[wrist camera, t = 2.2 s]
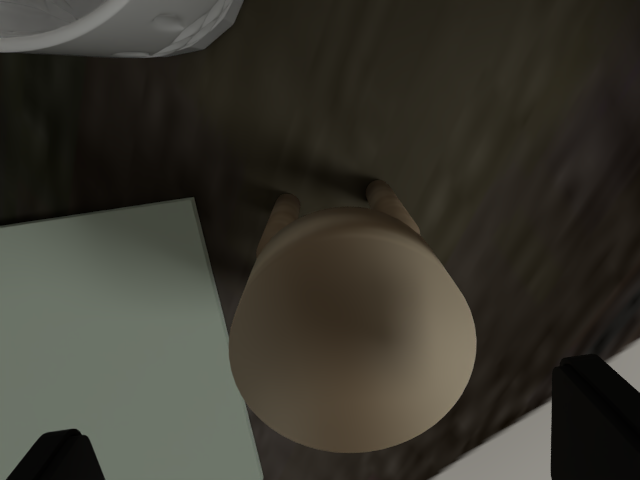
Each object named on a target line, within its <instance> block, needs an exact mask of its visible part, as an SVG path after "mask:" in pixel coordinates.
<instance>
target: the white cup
mask: <svg viewBox="0 0 640 480" xmlns="http://www.w3.org/2000/svg"><path fill="white" fill-rule="evenodd" d="M243 1H244V0H0V52H5V53H27V54H48V55H67V56H84V57H101V58H149V57H170V56H175V55H180V54H185V53H189V52H194V51H199V50H204V49H205V48H206V47H208V46H209V45H210V44H211V43H212V42H213V41H215V40H216V39H217V38H218V37H219V36H220V35H222V34H223V33H224V32H225V31H226V30H228V29H229V28H230V27H231V26H232V25H233V24H234V22H235V20H236V18H237V15H238V13H239V11H240V8H241V6H242V4H243Z"/></svg>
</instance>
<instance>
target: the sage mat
mask: <svg viewBox="0 0 640 480" xmlns="http://www.w3.org/2000/svg"><path fill="white" fill-rule="evenodd" d="M66 429H77V430H79V431H80V432H81V434H82V435H86V436H88V438H89V439H90V442H91V444H92V447H93V449H94V452H95V454H96V457H97V460H98V462H99V465H100V467H101V470H102V472H103V475H104V477H105V480H263V473H262V469H261V465H260V461H259V457H258V453H257V449H256V445H255V441H254V437H253V433H252V429H251V425H250V421H249V417H248V413H247V409H246V405H245V401H244V399H243V397H242V396H241V394H240V392H239V390H238V388H237V386H236V384H235V381H234V378H233V375H232V372H231V367H230V361H229V336H228V332H227V328H226V324H225V320H224V316H223V312H222V308H221V304H220V300H219V296H218V292H217V288H216V284H215V280H214V276H213V272H212V268H211V264H210V260H209V256H208V252H207V248H206V244H205V240H204V236H203V232H202V228H201V224H200V220H199V216H198V212H197V208H196V204H195V200H194V197H191V198H184V199H177V200H170V201H164V202H157V203H150V204H144V205H137V206H130V207H123V208H117V209H110V210H103V211H97V212H90V213H83V214H76V215H70V216H63V217H56V218H50V219H43V220H36V221H30V222H23V223H16V224H9V225H3V226H0V480H6V479H7V477H8V476H9V475H10V474H11V472H12V471H13V470H14V469H15V467H16V466H17V465H18V463H19V462H20V461H21V460H22V458H23V457H24V456H25V455H26V453H27V452H28V451H29V450H30V448H31V447H32V446H33V445H34V443H35V442H36V441H37V439H38V438H39V437H40V436H41V435H42V434H44V433H47V432H52V431H59V430H66Z"/></svg>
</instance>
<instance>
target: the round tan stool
mask: <svg viewBox="0 0 640 480" xmlns="http://www.w3.org/2000/svg"><path fill="white" fill-rule="evenodd" d="M365 194H366V198H367V200H368V203H369V205H370V207H371V209H367V208H361V207H335V208H328V209H324V210H319V211H316V212H313V213H310V214H307V215H305V216H303V217H301V218H299V219H298V216H299V211H300V202H299V200H298V198H297V197H296V196H294V195H292V194H283V195H281V196H279V197H278V198H277V200H276V202H275V205H274V207H273V210H272V212H271V215H270V217H269V220H268V222H267V225H266V227H265V230H264V232H263V235H262V237H261V240H260V242H259V245H258V247H257V250H256V256H257V259H256V262H255V264H254V266H253V268H252V271H251V273H250V276H249V279H248V281H247V284H246V286H245V289H244V292H243V294H242V297H241V299H240V302H239V305H238V307H237V310H236V312H235V315H234V318H233V322H232V325H231V329H230V336H229V361H230V367H231V372H232V375H233V378H234V381H235V384H236V386H237V388H238V390H239V392H240V394H241V396H242V397H243V399H244V400H245V402H246V403H247V405H248V406H249V407H250V409H251V410H252V411H253V412H254V413H255V414H256V415H257V416H258V417H259V418H260V419H261V420H262V421H263V422H264V423H265V424H267V425H268V426H269V427H270V428H272V429H273V430H275V431H276V432H278V433H279V434H281V435H282V436H284V437H286V438H288V439H290V440H292V441H294V442H297V443H299V444H302V445H305V446H307V447H311V448H315V449H319V450H324V451H331V452H339V453H359V452H369V451H375V450H381V449H385V448H388V447H392V446H395V445H398V444H400V443H403V442H405V441H408V440H410V439H412V438H414V437H416V436H418V435H420V434H421V433H423V432H424V431H426V430H427V429H429V428H430V427H432V426H433V425H434V424H436V423H437V422H438V421H439V420H440V419H441V418H443V417H444V416H445V415H446V414H447V413H448V411H449V410H450V409H451V408H452V407H453V406H454V405H455V403H456V402H457V400H458V399H459V397H460V396H461V395H462V393H463V391H464V389H465V387H466V385H467V383H468V381H469V379H470V376H471V373H472V370H473V366H474V361H475V356H476V332H475V325H474V321H473V318H472V314H471V311H470V309H469V307H468V304H467V302H466V300H465V298H464V296H463V295H462V293H461V292H460V290H459V289H458V287H457V286H456V284H455V283H454V281H453V280H452V278H451V277H450V275H449V274H448V273H447V271H446V270H445V268H444V267H443V265H442V264H441V262H440V261H439V260H438V258H437V257H436V255H435V254H434V252H433V251H432V249H431V248H430V246H429V245H428V244H427V243H426V242H425V240H424V239H423V238H422V237H421V236H420V231H419V228H418V226H417V225H416V223H415V222H414V220H413V219H412V218H411V216H410V215H409V213H408V212H407V210H406V209H405V208H404V206H403V205H402V203H401V202H400V201H399V199H398V198H397V196H396V195H395V193H394V192H393V191H392V189H391V188H390V186H389V185H388V184H387V183H386V182H384V181H382V180H375V181H373V182H371V183H370V184H369V185H368V186H367V188H366V192H365Z"/></svg>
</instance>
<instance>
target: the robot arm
mask: <svg viewBox="0 0 640 480" xmlns="http://www.w3.org/2000/svg"><path fill="white" fill-rule="evenodd" d="M551 426H552V427H551V431H552V432H551V477H552V480H640V393H639V392H638V391H637V390H636V389H635V388H634V387H632V386H631V385H630V384H629V383H628V382H627V381H626V380H625V379H623V378H622V377H621V376H620V375H619V374H618V373H617V372H616V371H615V370H613V369H612V368H611V367H610V366H609V365H608V364H607V363H606V362H604V361H603V360H602V359H601V358H600V357H598V356H597V355H595V354H588V355H581V356H574V357H567V358H563V359H562V360H561V362H560V366H559V367H555V368H554V369H553V373H552V425H551ZM6 480H105V477H104V475H103V472H102V470H101V467H100V465H99V462H98V460H97V457H96V454H95V452H94V449H93V447H92V444H91V442H90V439H89V438H88V436H86V435H82V434H81V432H80V431H79V430H77V429H66V430H59V431H52V432H47V433H44V434H42V435H41V436H40V437H39V438H38V439H37V441H36V442H35V443H34V445H33V446H32V447H31V448H30V450H29V451H28V452H27V453H26V455H25V456H24V457H23V458H22V460H21V461H20V462H19V463H18V465H17V466H16V467H15V469H14V470H13V471H12V472H11V474H10V475H9V476H8V477H7V479H6Z"/></svg>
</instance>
